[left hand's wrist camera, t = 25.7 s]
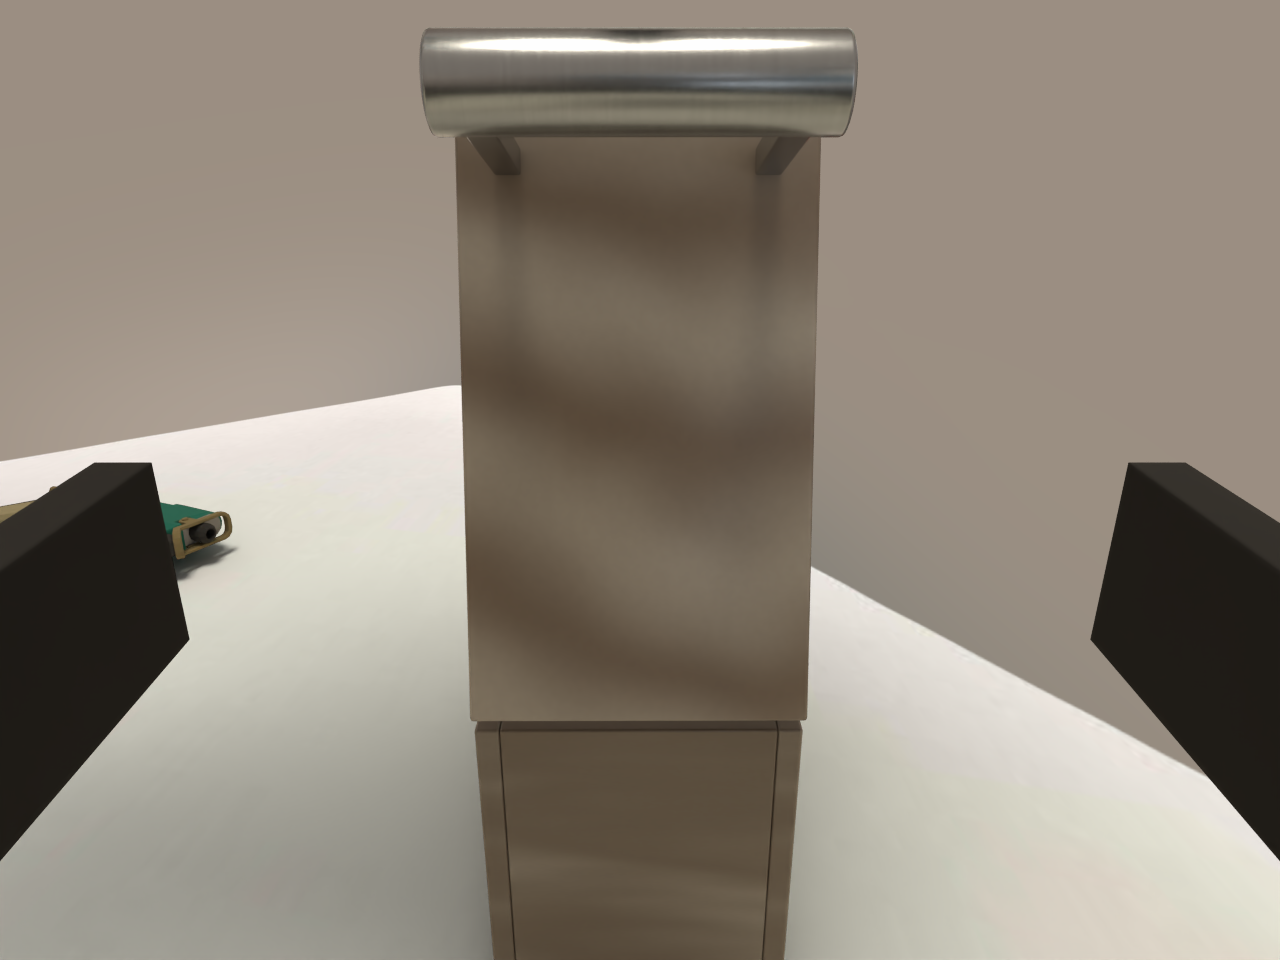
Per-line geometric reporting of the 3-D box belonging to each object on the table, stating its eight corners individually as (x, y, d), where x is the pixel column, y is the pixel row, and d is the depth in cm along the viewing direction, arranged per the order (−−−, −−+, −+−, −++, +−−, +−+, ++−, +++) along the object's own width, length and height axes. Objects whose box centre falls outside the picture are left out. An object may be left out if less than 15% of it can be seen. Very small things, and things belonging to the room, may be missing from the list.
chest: (544, 685, 46) (535, 496, 42) (732, 685, 46) (740, 496, 42) (495, 988, 30) (474, 731, 26) (782, 987, 30) (803, 730, 26)
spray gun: (-88, 564, 60) (152, 505, 70) (-24, 644, 49) (249, 560, 59) (-106, 503, 58) (141, 452, 69) (-45, 571, 48) (239, 498, 58)
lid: (458, 59, 24) (362, -104, 16) (816, 59, 24) (913, -104, 16) (475, 709, 27) (399, 874, 18) (801, 709, 27) (879, 873, 18)
